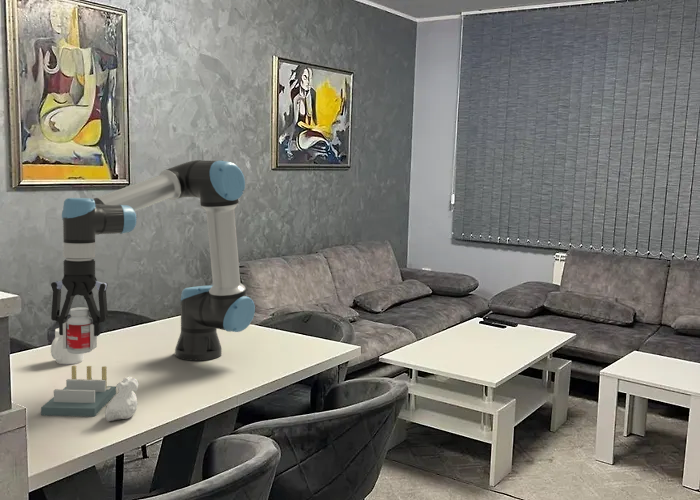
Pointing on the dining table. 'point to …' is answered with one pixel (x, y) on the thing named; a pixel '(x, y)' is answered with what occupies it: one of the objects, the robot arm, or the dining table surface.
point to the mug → (63, 351)
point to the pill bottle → (79, 331)
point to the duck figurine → (123, 400)
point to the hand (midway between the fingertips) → (79, 347)
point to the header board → (80, 396)
